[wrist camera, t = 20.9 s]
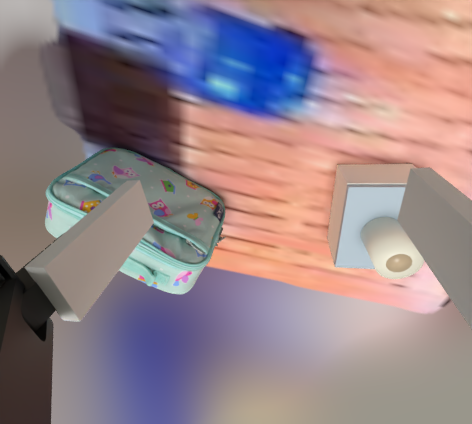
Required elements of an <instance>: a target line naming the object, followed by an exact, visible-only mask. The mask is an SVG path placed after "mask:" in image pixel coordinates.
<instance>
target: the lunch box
mask: <svg viewBox="0 0 472 424" xmlns="http://www.w3.org/2000/svg"><path fill="white" fill-rule="evenodd" d="M129 180H140V182H141V185H142V188H143V191H144V194H145V197H146V200H147V203H148V206H149V209H150V212H151V215H152V218H153V221H154V223H153V225H152V226H151V227H150V229H149V230H148V231H147V233H146V234H145V235H144V237H143V238H142V239H141V241H140V242H139V243H138V245H137V246H136V248H135V249H134V250H133V252H132V253H131V254H130V256H129V257H128V258H127V260H126V261H125V262H124V264H123V265H122V266H121V268H120V269H119V271H121V272H123V273H125V274H127V275H129V276H131V277H133V278H135V279H137V280H139V281H142V282H144V283H146V284H147V285H148V286H153V287H155V288H157V289H160V290H162V291H165V292H169V293H173V294H184V293H186V292H188V291H189V290H190V289H191V288H192V287H193V286H194V284H195V282H196V280H197V278H198V276H199V275H200V273H201V271H202V270H203V268H204V266H206V265H207V264H208V262H209V261H210V259H211V256H212V253H213V250H214V247H215V246H218V245H217V243H219V242H220V241H222V240H223V239H224V238H225V237H223V238H222V237H221V236H220V235H221V233H222V230H223V228H222V225H223V222H224V218H225V206H224V203H223V201H222V200H221V199H220V198H219V197H218V196H217V195H216V194H214V193H213V192H211V191H209V190H208V189H206V188H204V187H202V186H200V185H198V184H196V183H194V182H192V181H190V180H188V179H186V178H184V177H182V176H181V175H179V174H177V173H175V172H173V171H172V170H171V169H169V168H167V167H164V166H162V165H160V164H158V163H156V162H153V161H151V160H149V159H147V158H146V157H143V156H141V155H139V154H137V153H135V152H132V151H130V150H126V149H120V148H106V149H102V150H100V151H99V152H97V153H95V154H93V155H92V156H91V157H89V158H88V159H86V160H85V161H83V162H82V163H80V164H79V165H77V166H75V167H74V168H72V169H71V170H69V171H67V172H65V173H63V174H62V175H60V176H58V177H57V178H56V179H54V180H53V181H52V182H51V184H50V185H49V187H48V188H47V190H46V197H47V198H48V200H49V202H48V208H47V214H46V219H45V225H46V229H47V230H48V232H49V233H50V234H52V235H53V236H54V237H56V238H58V237H60V236H61V235H62V234H64V233H65V232H67V231H68V230H69V229H70V228H71V227H73V226H74V225H75V224H76V223H77V222H78V221H80V220H81V219H82V218H83V217H84V216H86V215H87V214H88V213H89V212H90V211H91V210H93V209H94V208H95V207H96V206H97V205H99V204H100V203H101V202H102V201H103V200H105V199H106V198H107V197H108V196H109V195H110V194H112V193H113V192H114V191H115V190H116V189H118V188H119V187H120V186H121V185H122V184H123V183H125V182H126V181H129Z"/></svg>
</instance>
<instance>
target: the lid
mask: <svg viewBox="0 0 472 424" xmlns="http://www.w3.org/2000/svg"><path fill="white" fill-rule="evenodd" d="M405 188H406V184H347V189H346V195H345V201H344V207H343V213H342V219H341V225H340V231H339V237H338V243H337V249H336V255H335V261H334V264H335V267H343V268H364V269H375V267H374V265H373V263H372V261H371V259H370V256H369V254H368V252H367V250H366V248H365V246H364V243H363V241H362V239H361V231H362V229H363V227H364V226H365V225H366V224H367V223H368V222H370V221H371V220H373V219H376V218H380V217H390V218H393V219H396V220H397V219H398V215H399V211H400V207H401V204H402V200H403V196H404V192H405Z"/></svg>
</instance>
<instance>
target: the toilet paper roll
mask: <svg viewBox="0 0 472 424" xmlns="http://www.w3.org/2000/svg"><path fill="white" fill-rule="evenodd" d="M361 239H362V241H363V243H364V246H365V248H366V250H367V252H368V254H369V256H370V259H371V261H372V263H373V265H374V267H375V269H376V271H377V272H378V274H380V275H381V276H383V277H385V278H389V279H401V278H405V277H408V276H411V275H413V274H414V273H416V272H417V271H418V270H419V269H420V268H421V267H422V265H423V262H424V259H423V257H422V256H421V254H420V253H419V251H418V250H417V248H416V247H415V246H414V244H413V243H412V241H411V240H410V238H409V237H408V235H407V234H406V232H405V231H404V229H403V228H402V226H401V225H400V224H399V222H398V221H397V220H396V219H393V218H390V217H380V218H376V219H373V220H371V221H370V222H368V223H367V224H366V225H365V226H364V227H363V229H362V231H361Z"/></svg>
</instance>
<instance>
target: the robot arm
mask: <svg viewBox="0 0 472 424" xmlns="http://www.w3.org/2000/svg"><path fill="white" fill-rule="evenodd" d="M397 221H398V222H399V224H400V225H401V226H402V228H403V229H404V231H405V232H406V234H407V235H408V237H409V238H410V240H411V241H412V243H413V244H414V246H415V247H416V248H417V250H418V251H419V253H420V254H421V256H422V257H423V259H424V260H425V262H426V263H427V265H428V266H429V268H430V269H431V271H432V272H433V273H434V275H435V276H436V278H437V279H438V281H439V282H440V284H441V285H442V287H443V288H444V290H445V291H446V293H447V294H448V295H449V297H450V298H451V300H452V301H453V303H454V304H455V306H456V307H457V309H458V310H459V311H460V313H461V315H462V316H463V317H464V319H465V320H466V322H467V323H468V325H469V326H470V328H471V329H472V200H470V199H469V198H468V197H467V196H465V195H464V194H463V193H462V192H460V191H459V190H458V189H457V188H455V187H454V186H453V185H452V184H450V183H449V182H448V181H446V180H445V179H444V178H443V177H441V176H440V175H439V174H438V173H436V172H435V171H434V170H433V169H431V168H411V169H410V172H409V176H408V180H407V184H406V188H405V192H404V196H403V200H402V204H401V207H400V211H399V215H398V219H397ZM153 223H154V221H153V218H152V215H151V212H150V209H149V206H148V203H147V200H146V197H145V194H144V191H143V188H142V185H141V182H140V180H129V181H126V182H125V183H123V184H122V185H121V186H120V187H119V188H118V189H116V190H115V191H114V192H113V193H112V194H110V195H109V196H108V197H107V198H106V199H105V200H103V201H102V202H101V203H100V204H99V205H97V206H96V207H95V208H94V209H93V210H91V211H90V212H89V213H88V214H87V215H86V216H84V217H83V218H82V219H81V220H80V221H78V222H77V223H76V224H75V225H74V226H73V227H71V228H70V229H69V230H68V231H67V232H65V233H64V234H62V235H61V236H60V237H58V238H57V239H56V240H55V241H54V242H53V243H52V244H50V245H49V246H48V247H47V248H45V250H43V251H42V252H41V253H39V254H38V255H37V256H36V257H35V258H33V259H32V260H31V261H30V262H29V263H27V264H26V265H25V266H24V267H23V268H21V269H20V270H19V271H18V272H17V273H15V272H14V271H13V269H12V268H11V267H10V266H9V264H8V263H7V262H6V260H5V259H4V258H3V257H2V256H1V255H0V424H51V396H52V357H53V355H52V354H53V322H52V320H51V319H50V318H49V317H50V316H51V315H52V314H53V313H54V311H55V310H56V311H57V313H58V314H59V315H60V317H61V318H62V320H65V321H78V322H80V321H82V319H83V318H84V316H85V315H86V314H87V312H88V311H89V310H90V308H91V307H92V305H93V304H94V303H95V302H96V300H97V299H98V297H99V296H100V295H101V293H102V292H103V291H104V289H105V288H106V287H107V285H108V284H109V283H110V281H111V280H112V279H113V277H114V276H115V275H116V273H117V272H118V271H119V269H120V268H121V266H122V265H123V264H124V262H125V261H126V260H127V258H128V257H129V256H130V254H131V253H132V252H133V250H134V249H135V248H136V246H137V245H138V243H139V242H140V241H141V239H142V238H143V237H144V235H145V234H146V233H147V231H148V230H149V229H150V227H151V226H152V225H153Z"/></svg>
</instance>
